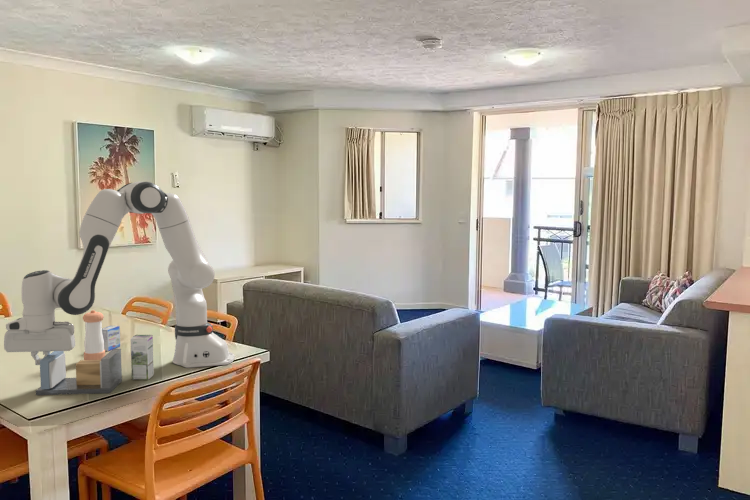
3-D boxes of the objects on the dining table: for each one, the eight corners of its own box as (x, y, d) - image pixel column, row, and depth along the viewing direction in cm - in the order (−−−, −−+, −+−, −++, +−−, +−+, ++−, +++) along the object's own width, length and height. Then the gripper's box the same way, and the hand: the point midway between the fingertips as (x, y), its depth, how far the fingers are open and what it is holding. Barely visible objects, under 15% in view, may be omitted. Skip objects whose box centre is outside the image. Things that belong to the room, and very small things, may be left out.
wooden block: (81, 381, 189) (80, 360, 188) (107, 380, 190) (106, 359, 189) (76, 385, 185) (75, 363, 185) (102, 384, 186) (102, 363, 186)
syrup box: (154, 374, 201) (153, 333, 200) (148, 380, 196) (147, 338, 194) (137, 374, 201) (136, 333, 200) (131, 380, 195) (129, 338, 194)
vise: (121, 380, 195) (120, 348, 194) (110, 393, 183) (109, 358, 182) (52, 382, 192) (50, 350, 191) (35, 395, 180) (34, 360, 179)
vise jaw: (66, 377, 192) (65, 349, 191) (51, 389, 180) (49, 360, 180) (57, 377, 192) (55, 350, 191) (40, 389, 180) (39, 360, 179)
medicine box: (108, 351, 230) (107, 330, 229) (98, 350, 231) (97, 329, 230) (120, 346, 237) (120, 325, 237) (111, 345, 238) (110, 325, 237)
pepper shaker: (85, 358, 219) (83, 309, 217) (106, 357, 222) (104, 307, 220) (82, 364, 213) (80, 312, 211) (104, 362, 215) (102, 311, 213)
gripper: (77, 319, 188) (79, 360, 190) (10, 320, 186) (12, 362, 187) (69, 323, 182) (71, 366, 183) (0, 324, 180) (2, 368, 181)
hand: (41, 364), depth 185 cm, fingers closed
